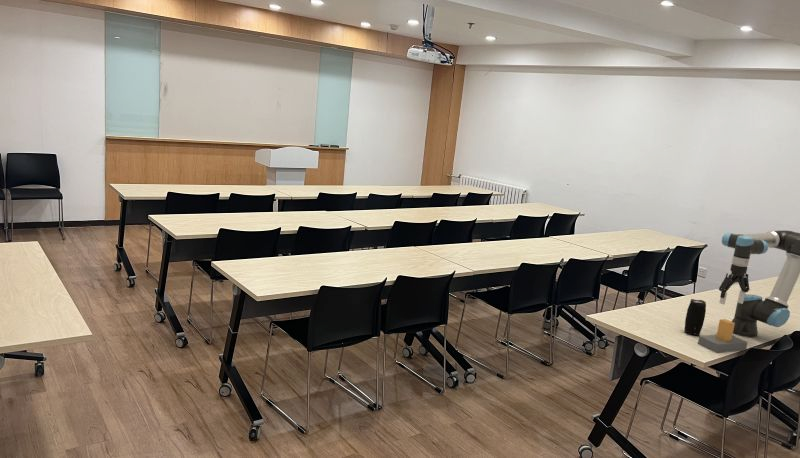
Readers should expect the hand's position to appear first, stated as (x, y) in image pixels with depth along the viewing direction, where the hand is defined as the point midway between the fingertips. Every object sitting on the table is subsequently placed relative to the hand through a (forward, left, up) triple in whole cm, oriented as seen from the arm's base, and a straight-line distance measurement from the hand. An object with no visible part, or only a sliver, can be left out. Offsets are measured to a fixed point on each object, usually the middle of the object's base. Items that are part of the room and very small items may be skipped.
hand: (731, 303), depth 315 cm
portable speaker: (-19, -1, -25) cm, 31 cm away
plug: (0, 0, -25) cm, 25 cm away
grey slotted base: (0, 0, -25) cm, 25 cm away
